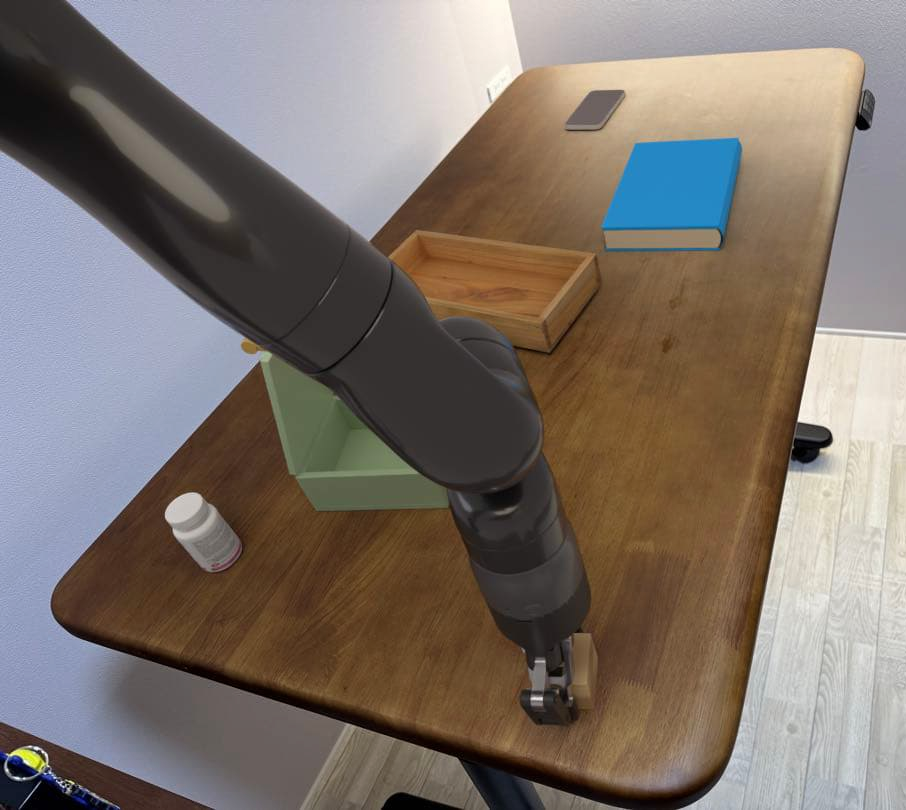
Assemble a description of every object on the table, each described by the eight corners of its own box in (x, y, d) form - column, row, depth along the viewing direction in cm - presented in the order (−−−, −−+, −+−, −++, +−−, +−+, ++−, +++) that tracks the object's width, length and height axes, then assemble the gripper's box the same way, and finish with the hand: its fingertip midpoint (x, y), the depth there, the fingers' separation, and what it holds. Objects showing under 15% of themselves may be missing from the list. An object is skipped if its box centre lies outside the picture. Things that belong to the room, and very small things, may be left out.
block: (594, 709, 65) (586, 684, 62) (541, 707, 66) (531, 683, 62) (598, 659, 68) (590, 633, 65) (548, 658, 69) (538, 632, 66)
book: (600, 228, 110) (633, 140, 126) (605, 253, 113) (636, 165, 129) (724, 225, 104) (741, 134, 121) (725, 252, 107) (742, 159, 124)
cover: (313, 280, 80) (269, 274, 80) (268, 361, 71) (219, 355, 71) (333, 393, 91) (295, 388, 92) (296, 475, 83) (254, 469, 83)
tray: (367, 318, 112) (353, 286, 108) (426, 258, 121) (415, 227, 117) (550, 358, 98) (541, 323, 94) (603, 288, 106) (597, 253, 102)
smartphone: (626, 89, 149) (600, 125, 140) (627, 94, 150) (600, 130, 140) (590, 90, 152) (562, 125, 143) (591, 94, 153) (563, 130, 143)
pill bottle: (250, 537, 86) (214, 488, 80) (232, 574, 83) (193, 526, 77) (212, 536, 87) (174, 489, 81) (193, 573, 84) (152, 526, 78)
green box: (470, 423, 92) (457, 388, 88) (448, 508, 83) (432, 473, 80) (349, 429, 96) (331, 395, 92) (316, 511, 87) (294, 477, 83)
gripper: (495, 490, 61) (537, 605, 72) (459, 662, 51) (515, 764, 62) (590, 487, 59) (618, 605, 71) (572, 665, 49) (608, 769, 60)
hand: (569, 679), depth 66 cm, fingers open, 5 cm apart
